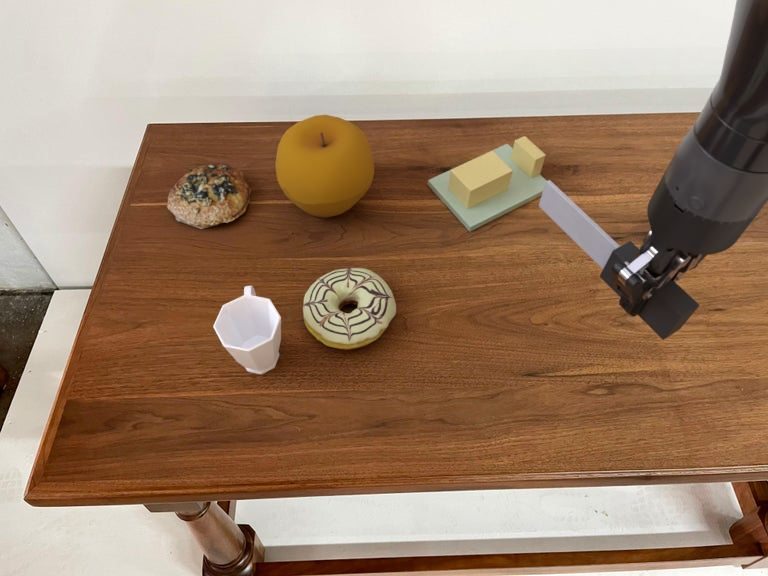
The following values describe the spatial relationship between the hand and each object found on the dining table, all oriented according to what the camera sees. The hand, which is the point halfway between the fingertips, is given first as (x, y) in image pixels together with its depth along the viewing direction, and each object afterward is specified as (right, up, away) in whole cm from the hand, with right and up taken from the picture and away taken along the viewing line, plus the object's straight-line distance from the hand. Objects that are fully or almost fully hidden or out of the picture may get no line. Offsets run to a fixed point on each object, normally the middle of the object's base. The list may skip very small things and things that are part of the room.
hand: (638, 302), depth 61 cm
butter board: (-11, +15, +23) cm, 30 cm away
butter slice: (-6, +19, +24) cm, 31 cm away
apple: (-34, +14, +22) cm, 42 cm away
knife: (-3, +4, +3) cm, 6 cm away
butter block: (-13, +15, +21) cm, 29 cm away
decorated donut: (-30, -2, +11) cm, 32 cm away
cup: (-41, -5, +9) cm, 42 cm away
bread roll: (-50, +13, +22) cm, 56 cm away
